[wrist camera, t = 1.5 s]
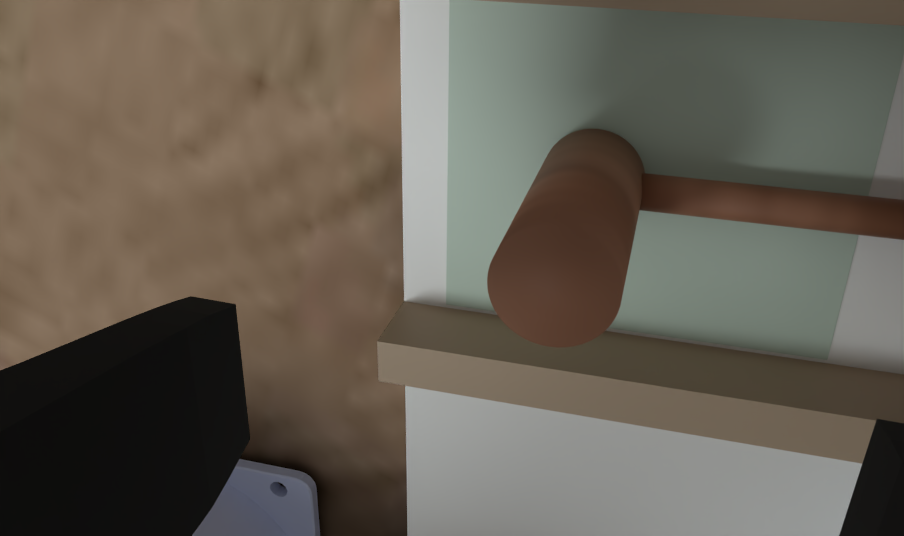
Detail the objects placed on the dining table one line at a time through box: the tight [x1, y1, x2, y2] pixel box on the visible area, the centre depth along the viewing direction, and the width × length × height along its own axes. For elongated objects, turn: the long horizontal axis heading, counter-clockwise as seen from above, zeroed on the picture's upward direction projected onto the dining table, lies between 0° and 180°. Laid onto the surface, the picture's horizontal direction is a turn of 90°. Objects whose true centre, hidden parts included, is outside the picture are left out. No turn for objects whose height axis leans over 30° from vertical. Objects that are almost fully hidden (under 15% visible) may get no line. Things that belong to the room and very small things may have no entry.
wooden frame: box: [377, 0, 904, 536], centre depth 17 cm, size 18×22×4 cm
